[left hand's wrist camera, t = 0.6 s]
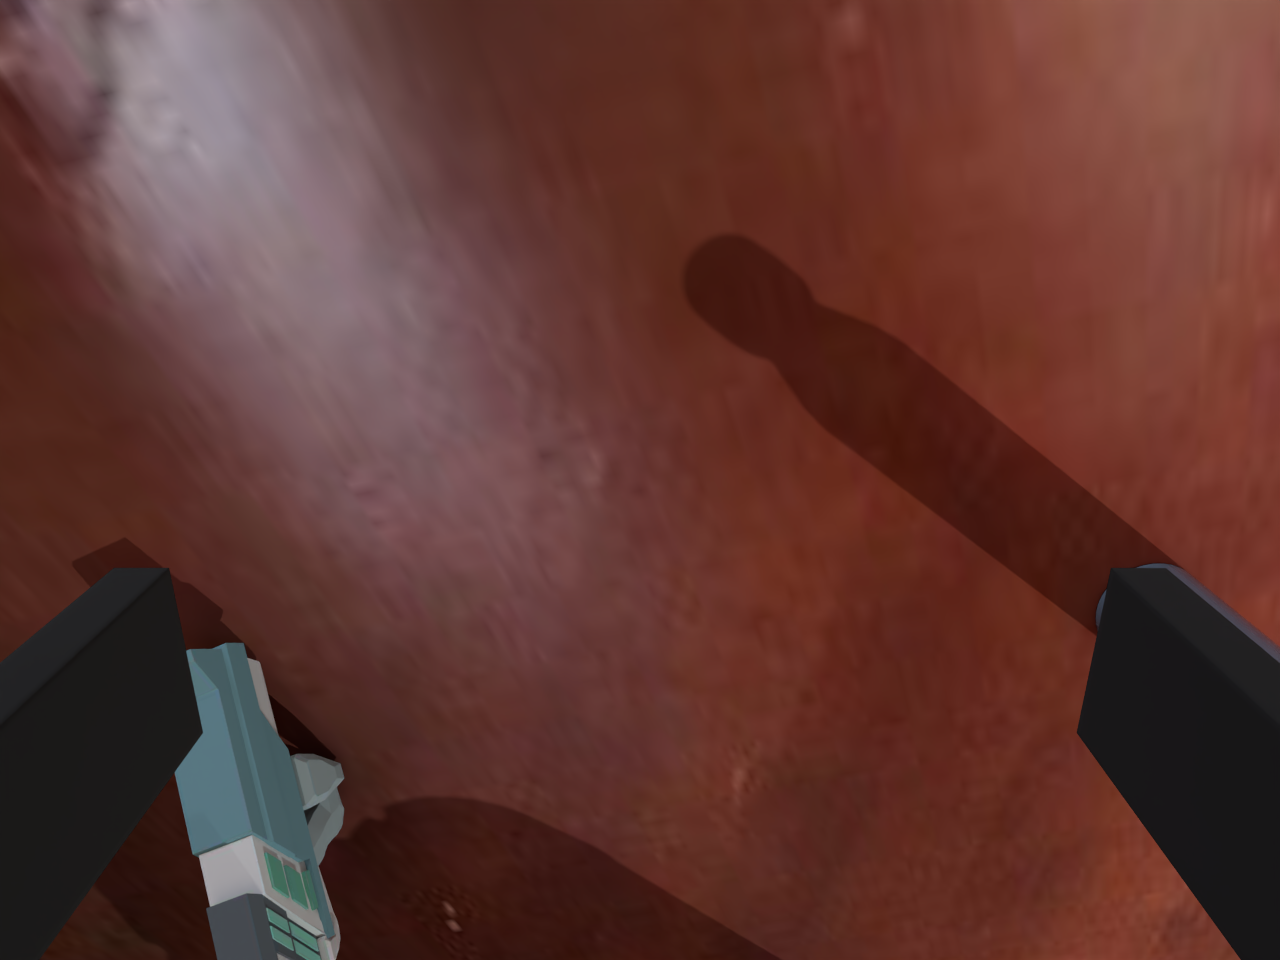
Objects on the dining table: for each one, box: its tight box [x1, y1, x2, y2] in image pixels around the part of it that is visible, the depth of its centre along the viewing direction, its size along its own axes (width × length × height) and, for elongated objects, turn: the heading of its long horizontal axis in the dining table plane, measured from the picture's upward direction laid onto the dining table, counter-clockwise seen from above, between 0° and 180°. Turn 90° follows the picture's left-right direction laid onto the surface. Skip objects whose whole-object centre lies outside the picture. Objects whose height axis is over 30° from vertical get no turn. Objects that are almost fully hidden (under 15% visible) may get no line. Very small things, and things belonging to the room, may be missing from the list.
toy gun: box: [175, 643, 344, 960], centre depth 43 cm, size 4×19×10 cm
